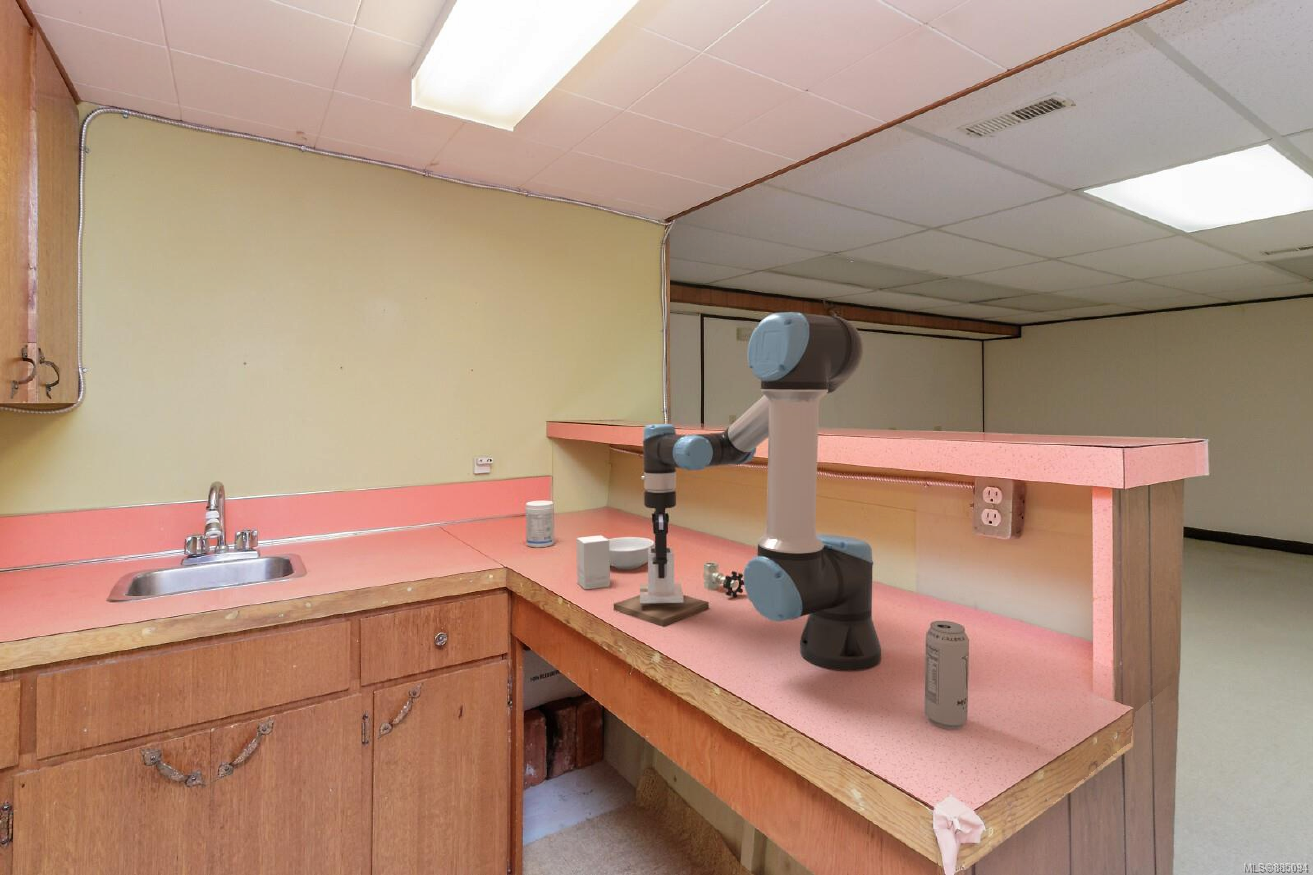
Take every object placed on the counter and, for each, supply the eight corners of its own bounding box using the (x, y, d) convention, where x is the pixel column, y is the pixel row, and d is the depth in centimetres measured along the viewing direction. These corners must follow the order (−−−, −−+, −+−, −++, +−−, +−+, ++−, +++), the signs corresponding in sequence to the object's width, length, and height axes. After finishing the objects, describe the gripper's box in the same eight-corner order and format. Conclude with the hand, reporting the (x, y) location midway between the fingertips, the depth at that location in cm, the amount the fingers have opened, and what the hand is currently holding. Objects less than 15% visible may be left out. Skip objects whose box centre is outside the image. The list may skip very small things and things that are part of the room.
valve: (696, 588, 167) (725, 600, 157) (696, 563, 166) (725, 574, 156) (716, 583, 170) (745, 595, 160) (716, 559, 170) (745, 569, 160)
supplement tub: (531, 541, 222) (530, 500, 222) (557, 541, 222) (556, 500, 221) (522, 548, 213) (521, 505, 212) (550, 548, 212) (549, 505, 211)
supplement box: (610, 587, 168) (610, 540, 168) (583, 590, 166) (583, 542, 165) (602, 579, 175) (602, 534, 174) (576, 582, 172) (575, 537, 172)
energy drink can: (969, 734, 94) (971, 635, 93) (924, 727, 96) (926, 630, 95) (965, 715, 99) (967, 622, 98) (923, 708, 101) (925, 617, 100)
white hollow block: (680, 589, 155) (680, 545, 154) (683, 602, 145) (682, 555, 144) (640, 590, 155) (639, 545, 154) (639, 603, 145) (639, 556, 144)
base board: (708, 608, 151) (708, 577, 150) (662, 626, 139) (662, 592, 139) (660, 594, 162) (659, 565, 161) (613, 609, 150) (613, 578, 150)
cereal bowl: (602, 558, 198) (602, 536, 197) (655, 558, 197) (655, 536, 197) (595, 574, 181) (594, 549, 180) (653, 574, 180) (653, 549, 180)
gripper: (643, 484, 158) (645, 575, 159) (644, 496, 139) (645, 599, 140) (673, 484, 158) (674, 574, 160) (678, 496, 139) (679, 599, 141)
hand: (661, 586), depth 150 cm, fingers closed on white hollow block, 6 cm apart
